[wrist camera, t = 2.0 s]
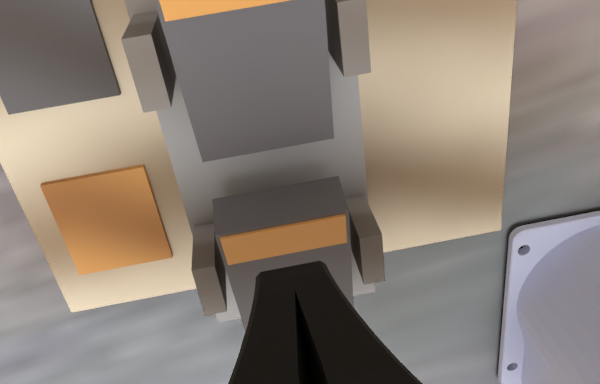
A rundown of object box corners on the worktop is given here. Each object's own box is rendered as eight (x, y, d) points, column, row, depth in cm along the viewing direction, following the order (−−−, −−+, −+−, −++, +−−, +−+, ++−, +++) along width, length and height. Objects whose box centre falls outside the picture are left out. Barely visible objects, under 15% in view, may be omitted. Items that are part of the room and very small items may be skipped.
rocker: (345, 285, 17) (355, 320, 17) (244, 305, 17) (248, 341, 16) (338, 176, 14) (349, 212, 13) (212, 198, 14) (214, 237, 13)
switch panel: (484, 208, 22) (565, 313, 17) (80, 285, 21) (38, 419, 16) (520, -512, 12) (742, -778, 7) (-234, -416, 11) (-594, -636, 6)
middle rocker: (324, 108, 14) (334, 140, 13) (200, 131, 14) (202, 164, 13) (308, -89, 11) (321, -64, 10) (144, -63, 11) (143, -35, 10)
